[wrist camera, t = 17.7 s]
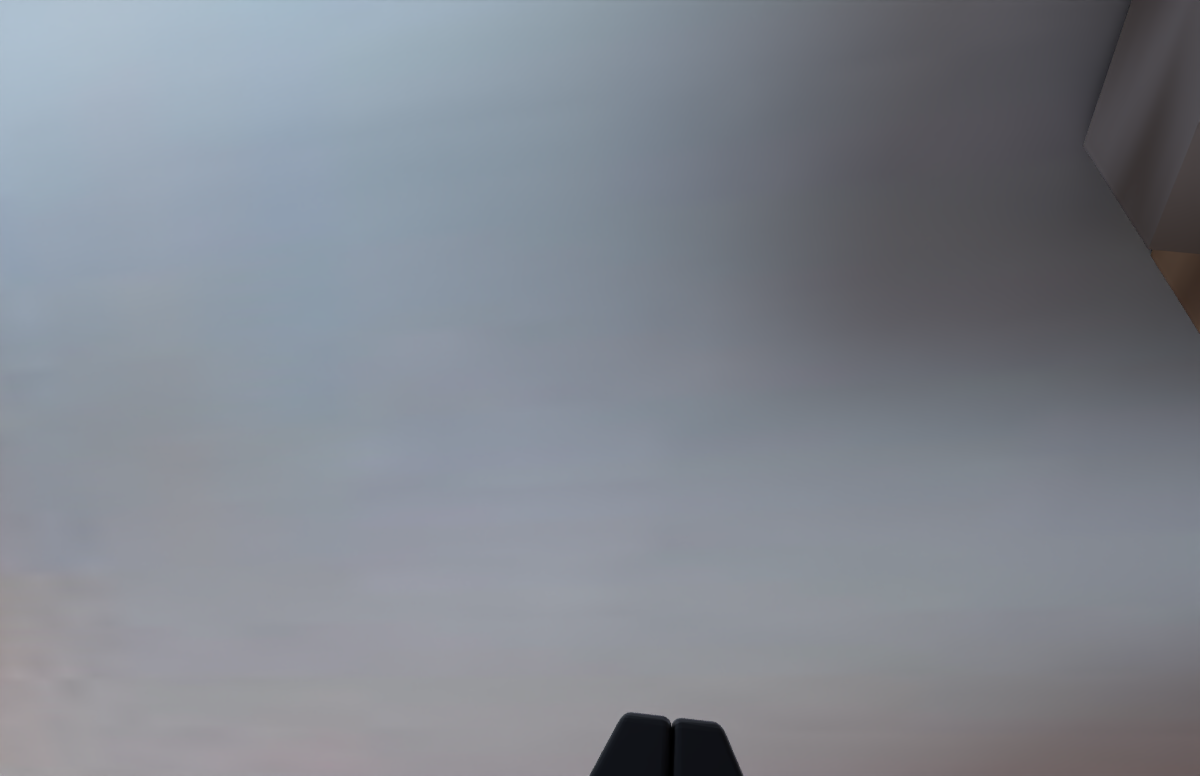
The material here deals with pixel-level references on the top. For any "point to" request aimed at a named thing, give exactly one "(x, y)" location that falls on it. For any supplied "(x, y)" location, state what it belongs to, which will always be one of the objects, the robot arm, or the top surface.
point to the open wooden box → (1182, 279)
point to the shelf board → (1153, 123)
